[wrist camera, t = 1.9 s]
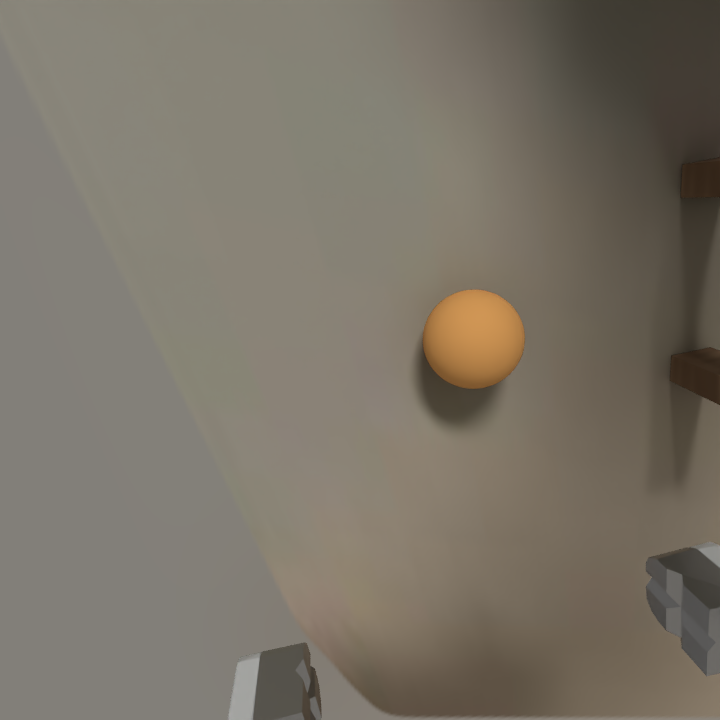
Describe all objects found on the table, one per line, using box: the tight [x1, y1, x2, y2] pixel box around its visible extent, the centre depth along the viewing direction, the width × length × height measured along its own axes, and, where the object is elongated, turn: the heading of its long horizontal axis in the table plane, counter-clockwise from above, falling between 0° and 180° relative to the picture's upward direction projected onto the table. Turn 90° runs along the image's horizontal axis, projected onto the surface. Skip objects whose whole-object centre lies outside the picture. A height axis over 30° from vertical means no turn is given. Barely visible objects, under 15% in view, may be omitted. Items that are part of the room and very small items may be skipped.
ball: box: [423, 290, 525, 389], centre depth 28 cm, size 6×6×6 cm
